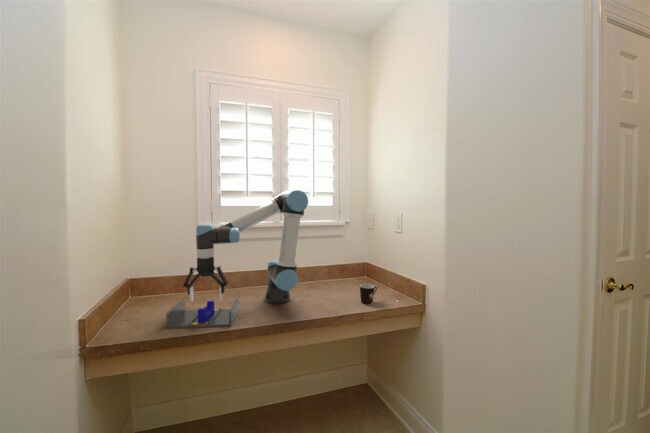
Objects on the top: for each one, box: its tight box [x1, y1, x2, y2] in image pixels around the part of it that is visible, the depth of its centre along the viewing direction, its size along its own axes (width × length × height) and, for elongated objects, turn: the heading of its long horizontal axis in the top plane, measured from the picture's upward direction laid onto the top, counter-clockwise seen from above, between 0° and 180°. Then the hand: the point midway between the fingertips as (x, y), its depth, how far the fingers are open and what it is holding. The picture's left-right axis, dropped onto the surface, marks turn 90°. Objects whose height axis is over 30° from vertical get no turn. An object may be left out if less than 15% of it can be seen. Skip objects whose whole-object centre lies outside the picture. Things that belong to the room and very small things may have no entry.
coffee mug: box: [359, 283, 378, 305], centre depth 158 cm, size 12×9×10 cm
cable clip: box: [197, 300, 215, 322], centre depth 132 cm, size 12×4×6 cm, turn 1°
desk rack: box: [165, 297, 240, 329], centre depth 133 cm, size 28×18×7 cm, turn 97°
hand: (206, 300), depth 133 cm, fingers open, 13 cm apart
